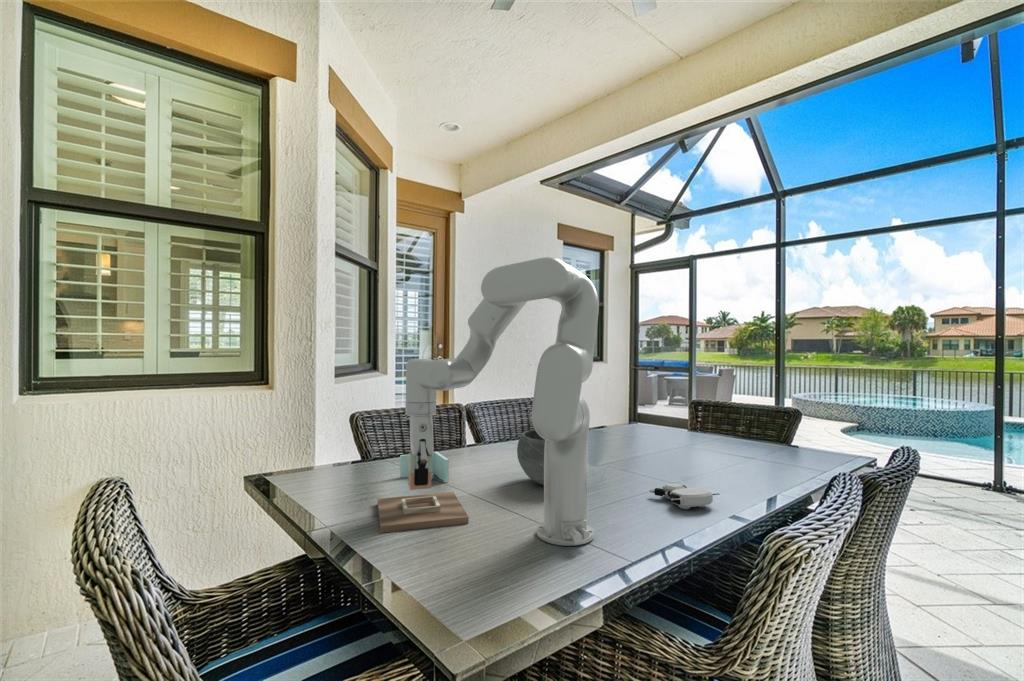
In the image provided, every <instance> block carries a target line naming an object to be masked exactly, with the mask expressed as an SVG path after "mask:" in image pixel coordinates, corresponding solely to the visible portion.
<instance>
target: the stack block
mask: <svg viewBox="0 0 1024 681" xmlns="http://www.w3.org/2000/svg"><path fill="white" fill-rule="evenodd" d="M408 454H409V477H408V486H409V490H410V491H414V490H427V489H432V480H431V463H432V456H430V455H429V454H428V452H427V456H428V457H427V459H428V484H427V485H420V486H415V484H414V475H415V469H416V457H415V456H413V454H412V452H411V451H410V452H409V451H408ZM418 456H420V453H419V454H418ZM419 460H420V459H418V461H419Z"/></svg>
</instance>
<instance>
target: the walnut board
mask: <svg viewBox="0 0 1024 681" xmlns="http://www.w3.org/2000/svg"><path fill="white" fill-rule="evenodd" d="M377 511H378V512H377V513H378V522H379V525H380V526H379V533H380V534H381V533H390V532H399V531H409V530H410V531H411V530H419V529H428V528H437V527H449V526H457V525H466V524H469V515H468V514H467V512H466V511H465V509H464V507H463V506H462V504H461V502H460V501H459V499H458V497H457V496H456V494H455V492H454V491H449V492H438V493H437V492H436V493H427V494H425V493H424V494H418V495H417V494H414V495H404V496H393V497H382V498H381V497H379V498H377Z"/></svg>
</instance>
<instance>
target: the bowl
mask: <svg viewBox="0 0 1024 681" xmlns="http://www.w3.org/2000/svg"><path fill="white" fill-rule="evenodd" d="M544 447H545V439H543V438H542V437H540V436H539V435H538V434H537V432H536V431H535V429H533V430H532V429H530V430H525V431H522V433H521V434H520V437H519V439H518V441H517V448H516V452H517V454H516V455H517V460H518V463H519V465H520V467H521V469H522V471H523V472H524V473H525V475H527V477H528V478H529V479H531V480H532V481H533V482H535V483H537V484H538V485H542V486H544Z"/></svg>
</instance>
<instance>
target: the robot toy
mask: <svg viewBox="0 0 1024 681" xmlns="http://www.w3.org/2000/svg"><path fill="white" fill-rule="evenodd" d="M649 493H651V494H654V495H655V496H658V497H663V496H664V497H665V498H666V499H667V498H668V499H670V500H669V501H670V502H671V504H674V505H677V507H679V508H680V509H682V508H683V509H682V510H689V509H690V508H694V507H695V508H696V507H697V506H698V507H697V508H703V507H705V506H707V505H710V504H712V503H713V501H714V500H713V499H714V498H713V497H714V496H719V495H720V492H718V493H717V492H716V493H713V492H711V490H708V489H704V488H701V487H687V486H686V485H685V484H684V485H683V484H680V483H667V484H665V485H664V484H663V485H662V488H660V487H655V488H654V489H653V488H652V489H650V490H649ZM668 499H667V500H668Z"/></svg>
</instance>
